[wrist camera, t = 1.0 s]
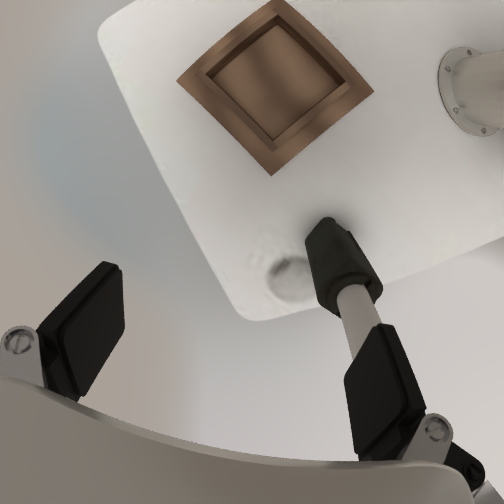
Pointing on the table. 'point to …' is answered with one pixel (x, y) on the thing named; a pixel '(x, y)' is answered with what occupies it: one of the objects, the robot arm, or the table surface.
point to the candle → (344, 280)
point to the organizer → (275, 84)
